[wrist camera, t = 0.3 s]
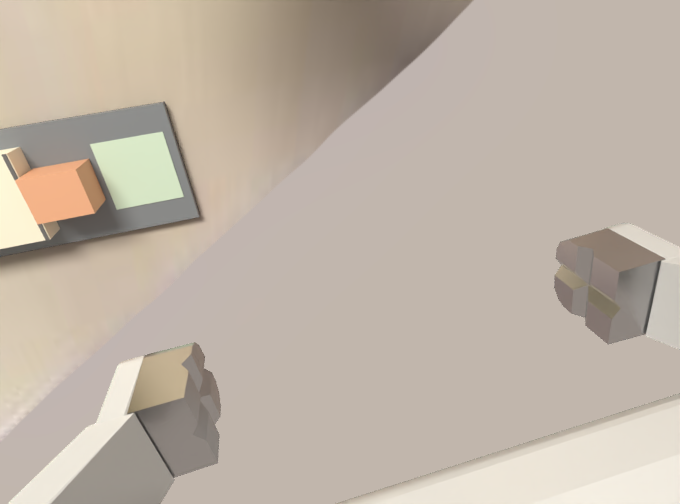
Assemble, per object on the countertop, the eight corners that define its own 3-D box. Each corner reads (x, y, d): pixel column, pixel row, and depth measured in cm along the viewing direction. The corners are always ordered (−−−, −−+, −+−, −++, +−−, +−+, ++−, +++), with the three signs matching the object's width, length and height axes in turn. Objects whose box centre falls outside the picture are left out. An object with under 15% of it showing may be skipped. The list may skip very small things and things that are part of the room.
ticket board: (-147, 153, 45) (-181, 164, 41) (164, 101, 49) (158, 107, 45) (-69, 267, 52) (-92, 285, 48) (199, 214, 55) (197, 226, 52)
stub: (33, 168, 48) (14, 180, 44) (88, 158, 49) (75, 169, 45) (53, 209, 51) (37, 224, 47) (105, 199, 51) (94, 213, 47)
